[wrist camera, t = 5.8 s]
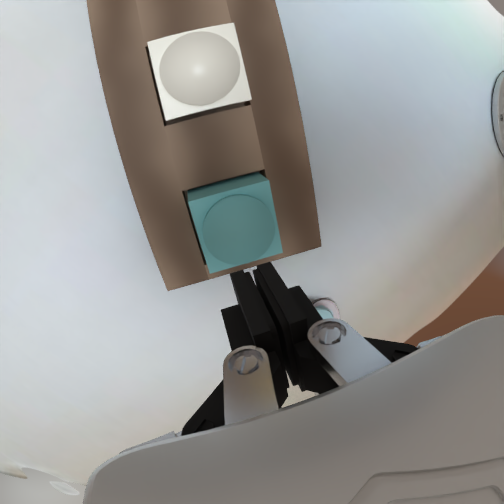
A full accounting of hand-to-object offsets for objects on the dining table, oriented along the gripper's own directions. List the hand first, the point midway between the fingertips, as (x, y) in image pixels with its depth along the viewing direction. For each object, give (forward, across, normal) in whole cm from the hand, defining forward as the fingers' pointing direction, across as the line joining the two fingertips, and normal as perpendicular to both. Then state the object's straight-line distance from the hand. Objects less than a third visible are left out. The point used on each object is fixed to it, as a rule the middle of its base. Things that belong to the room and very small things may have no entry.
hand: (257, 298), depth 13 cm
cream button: (+11, -1, -10) cm, 15 cm away
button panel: (+13, -1, -10) cm, 16 cm away
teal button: (+11, -1, 0) cm, 11 cm away
